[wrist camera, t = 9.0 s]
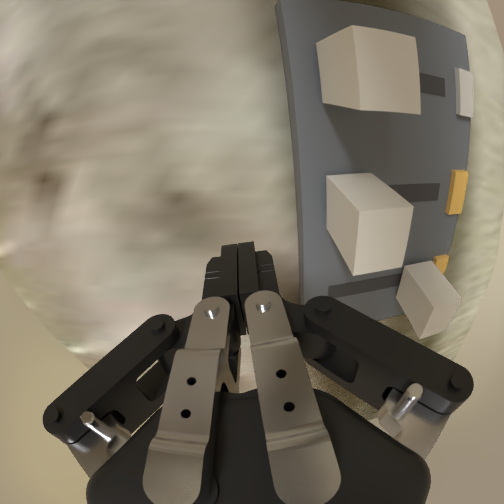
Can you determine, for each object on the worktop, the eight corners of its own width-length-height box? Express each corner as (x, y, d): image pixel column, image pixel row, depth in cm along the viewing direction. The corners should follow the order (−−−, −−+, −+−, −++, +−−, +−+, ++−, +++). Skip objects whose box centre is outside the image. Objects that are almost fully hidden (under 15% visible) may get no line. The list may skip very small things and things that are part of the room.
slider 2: (404, 265, 19) (434, 307, 15) (431, 260, 19) (461, 298, 15) (395, 297, 21) (419, 339, 17) (421, 291, 21) (446, 330, 17)
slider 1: (316, 43, 11) (351, 25, 7) (365, 46, 11) (415, 37, 7) (322, 102, 13) (360, 110, 9) (370, 103, 13) (420, 114, 9)
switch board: (274, 7, 11) (280, -6, 9) (449, 36, 11) (469, 35, 9) (299, 319, 25) (304, 339, 23) (420, 294, 25) (431, 310, 23)
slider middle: (326, 175, 15) (359, 211, 11) (370, 172, 15) (413, 206, 11) (326, 228, 17) (352, 275, 13) (367, 223, 17) (401, 267, 13)
